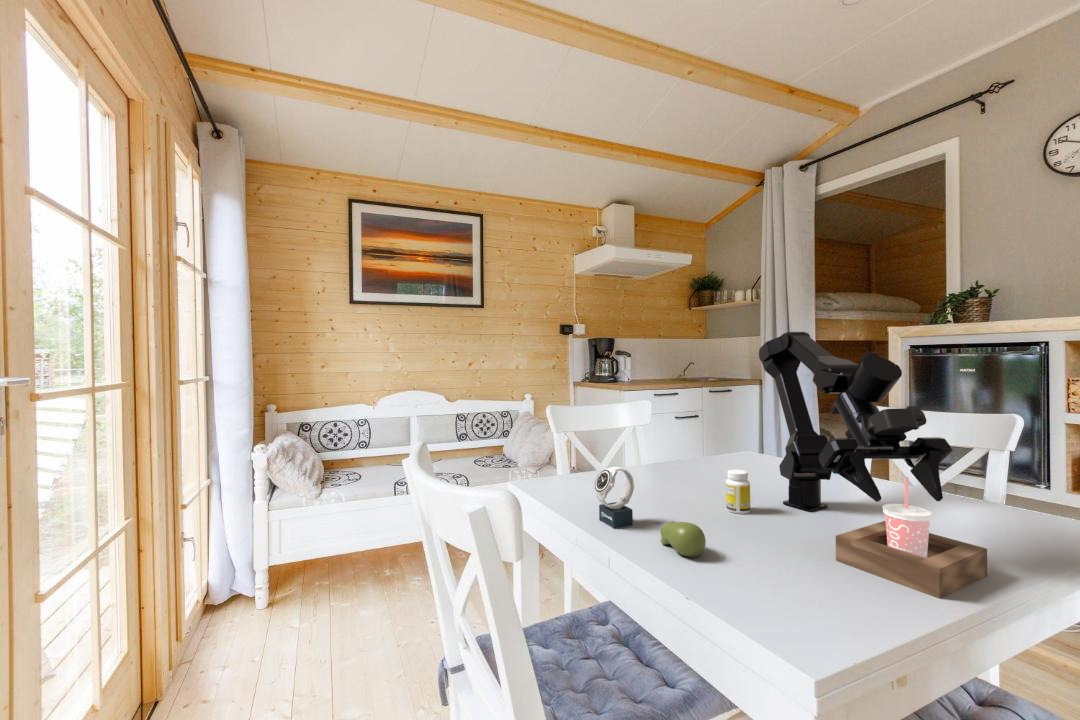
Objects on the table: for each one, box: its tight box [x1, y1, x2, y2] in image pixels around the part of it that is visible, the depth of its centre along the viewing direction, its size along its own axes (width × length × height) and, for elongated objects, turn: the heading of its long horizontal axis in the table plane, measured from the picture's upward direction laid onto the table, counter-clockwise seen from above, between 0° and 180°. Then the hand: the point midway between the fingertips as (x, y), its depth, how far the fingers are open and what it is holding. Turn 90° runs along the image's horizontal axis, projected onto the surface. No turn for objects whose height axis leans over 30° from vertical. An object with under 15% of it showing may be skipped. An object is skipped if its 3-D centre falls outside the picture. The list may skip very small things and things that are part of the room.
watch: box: [594, 466, 635, 530], centre depth 97 cm, size 6×8×11 cm
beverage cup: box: [882, 476, 933, 558], centre depth 75 cm, size 6×6×14 cm
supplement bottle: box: [725, 469, 751, 515], centre depth 103 cm, size 5×5×8 cm
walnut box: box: [835, 520, 988, 599], centre depth 75 cm, size 14×14×4 cm
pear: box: [660, 521, 707, 558], centre depth 83 cm, size 6×5×10 cm
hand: (909, 500), depth 74 cm, fingers open, 9 cm apart
